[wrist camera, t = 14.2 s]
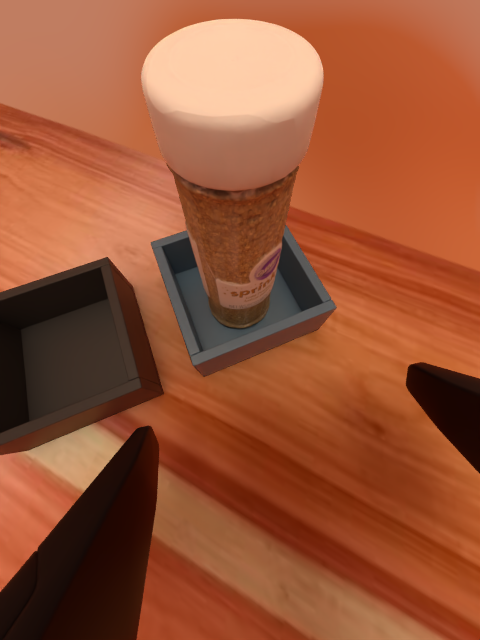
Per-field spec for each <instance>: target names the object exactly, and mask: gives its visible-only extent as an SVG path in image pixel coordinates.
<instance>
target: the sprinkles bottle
mask: <svg viewBox="0 0 480 640" xmlns="http://www.w3.org/2000/svg"><path fill="white" fill-rule="evenodd" d="M141 81H142V89H143V93H144V97H145V101H146V104H147V108H148V111H149V115H150V119H151V123H152V126H153V129H154V132H155V136H156V139H157V142H158V146H159V149H160V152H161V154H162V156H163V158H164V160H165V161H166V164H167V166H168V168H169V169H170V171H171V172H172V173H173V175H174V179H175V183H176V187H177V190H178V193H179V198H180V201H181V204H182V209H183V212H184V216H185V219H186V228H187V232H188V236H189V239H190V242H191V246H192V249H193V253H194V256H195V259H196V263H197V266H198V269H199V273H200V276H201V279H202V283H203V286H204V289H205V291H206V293H207V295H208V298H209V301H208V303H209V307H210V310H211V313H212V315H213V316H214V317H215V318H216V319H217V320H218V322H219V323H221V324H223V325H225V326H227V327H231V328H247V327H250V326H252V325H253V324H256V323H257V322H259V321H261V320H262V319H263V318H264V317H265V315H266V313H267V311H268V308H269V304H270V293H271V290H272V287H273V284H274V280H275V276H276V271H277V267H278V262H279V258H280V253H281V249H282V237H283V235H284V229H285V226H286V220H287V214H288V211H289V206H290V201H291V196H292V190H293V186H294V182H295V178H296V174H297V171H298V169H299V166H298V165H299V164H300V163H301V161H302V159H303V158H304V156H305V154H306V152H307V150H308V147H309V143H310V139H311V135H312V131H313V127H314V123H315V119H316V115H317V110H318V106H319V101H320V96H321V92H322V86H323V67H322V63H321V60H320V58H319V55H318V54H317V52H316V51H315V49H314V48H313V47H312V46H311V45H310V43H309V42H307V41H306V40H305V39H304V38H303V37H301V36H299V35H298V34H296V33H294V32H292V31H290V30H288V29H286V28H284V27H281V26H278V25H275V24H271V23H267V22H262V21H254V20H246V19H223V20H222V19H220V20H213V21H207V22H201V23H198V24H195V25H191V26H188V27H185V28H182V29H180V30H178V31H176V32H174V33H172V34H170V35H168V36H167V37H165V38H164V39H162V40H161V41H160V42H159V43H158V44H157V45H156V46H154V48H153V49H152V50H151V51H150V53H149V54H148V56H147V57H146V60H145V62H144V65H143V68H142V73H141Z"/></svg>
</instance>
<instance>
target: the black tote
mask: <svg viewBox="0 0 480 640" xmlns="http://www.w3.org/2000/svg"><path fill="white" fill-rule="evenodd" d="M162 394H164V393H163V389H162V386H161V383H160V379H159V376H158V372H157V369H156V365H155V362H154V359H153V355H152V352H151V348H150V345H149V341H148V338H147V335H146V331H145V328H144V324H143V321H142V317H141V314H140V310H139V307H138V304H137V300H136V297H135V293H134V290H133V286H132V285H131V284H130V283H129V282H128V280H127V279H126V278H125V277H124V276H123V275H122V273H121V272H120V271H119V270H118V269H117V268H116V266H115V265H114V264H113V263H112V262H111V261H110V259H109V258H108V257H106V258H103V259H100V260H97V261H94V262H91V263H88V264H85V265H82V266H79V267H76V268H73V269H70V270H67V271H64V272H61V273H58V274H55V275H52V276H49V277H46V278H43V279H40V280H37V281H34V282H31V283H28V284H25V285H21V286H18V287H15V288H12V289H9V290H6V291H3V292H0V455H4V454H10V453H16V452H22V451H27V450H30V449H32V448H35V447H37V446H39V445H42V444H44V443H47V442H49V441H52V440H54V439H56V438H59V437H61V436H64V435H66V434H68V433H71V432H73V431H76V430H78V429H80V428H83V427H85V426H88V425H90V424H92V423H95V422H97V421H100V420H102V419H104V418H107V417H109V416H112V415H114V414H116V413H119V412H121V411H124V410H126V409H128V408H131V407H133V406H136V405H138V404H141V403H143V402H145V401H148V400H150V399H153V398H155V397H157V396H160V395H162Z"/></svg>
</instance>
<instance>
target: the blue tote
mask: <svg viewBox="0 0 480 640" xmlns="http://www.w3.org/2000/svg"><path fill="white" fill-rule="evenodd" d="M151 246H152V249H153V252H154V254H155V257H156V260H157V263H158V266H159V269H160V272H161V275H162V278H163V280H164V283H165V286H166V289H167V292H168V295H169V298H170V301H171V304H172V306H173V309H174V312H175V315H176V318H177V321H178V324H179V327H180V329H181V332H182V335H183V338H184V341H185V344H186V347H187V350H188V353H189V355H190V358H191V361H192V364H193V366H194V367H195V368H196V369H197V370H198V371H199V372H200V373H201V374H202V375H203V376H204V377H205V376H207V375H209V374H212V373H214V372H217V371H219V370H221V369H224V368H226V367H229V366H231V365H233V364H236V363H238V362H241V361H243V360H245V359H248V358H250V357H253V356H255V355H257V354H260V353H262V352H265V351H267V350H270V349H272V348H274V347H277V346H279V345H282V344H284V343H286V342H289V341H291V340H294V339H296V338H298V337H301V336H303V335H306V334H308V333H310V332H313V331H315V330H318V329H319V328H320V326H321V325H322V324H323V323H324V322H325V321H326V320H327V318H328V317H329V316H330V315H331V314H332V313H333V311H334V310H335V309H336V306H335V304H334V302H333V301H332V300H331V297H330V296H329V294H328V292H327V291H326V289H325V288H324V286H323V284H322V283H321V281H320V279H319V278H318V276H317V275H316V273H315V271H314V270H313V268H312V266H311V265H310V263H309V261H308V260H307V258H306V257H305V255H304V253H303V252H302V250H301V248H300V247H299V245H298V244H297V242H296V240H295V239H294V237H293V235H292V234H291V232H290V231H289V229H288V227H287V226H285V229H284V235H283V237H282V249H281V253H280V258H279V262H278V267H277V271H276V276H275V280H274V284H273V287H272V290H271V293H270V304H269V308H268V311H267V313H266V315H265V317H264V318H263V319H262V320H261V321H259V322H257V323H256V324H253V325H252V326H250V327H247V328H231V327H227V326H225V325H223V324H221V323H219V322H218V320H217V319H216V318H215V317H214V316H213V315H212V313H211V310H210V307H209V303H208V301H209V298H208V295H207V293H206V291H205V289H204V286H203V283H202V279H201V276H200V273H199V269H198V266H197V263H196V259H195V256H194V253H193V249H192V246H191V242H190V239H189V236H188V232H187V230H186V231H183V232H180V233H177V234H174V235H171V236H168V237H165V238H162V239H159V240H156V241H153V242H151Z"/></svg>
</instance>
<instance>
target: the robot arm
mask: <svg viewBox="0 0 480 640" xmlns="http://www.w3.org/2000/svg"><path fill="white" fill-rule="evenodd" d="M406 386H407V389H408V391H409V392H410V393H411V395H412V396H413V397H414V398H415V400H416V401H417V402H418V404H419V405H420V406H421V407H422V409H423V410H424V411H425V413H426V414H427V415H428V416H429V418H430V419H431V420H432V421H433V423H434V424H435V425H436V426H437V428H438V429H439V430H440V431H441V432H442V433H443V435H444V436H445V437H446V438H447V439H448V440H449V441H450V442H451V443H452V444H453V445H454V446H455V447H456V449H457V450H458V451H459V452H460V453H461V454H462V455H463V456H464V457H465V458H466V459H467V460H468V462H469V463H470V464H471V465H472V466H473V467H474V468H475V469H476V470H477V471H478V472H479V473H480V379H479V378H475V377H472V376H468V375H465V374H461V373H458V372H455V371H451V370H448V369H444V368H441V367H437V366H434V365H430V364H427V363H423V362H420V363H415V364H411V365H410V366H409V367H408V371H407V379H406ZM158 467H159V444H158V441H157V439H156V436H155V434H154V431H153V429H152V427H151V426H144V427H140V428H137V429H136V430H135V431H134V433H133V434H132V435H131V436H130V437H129V439H128V440H127V441H126V442H125V443H124V445H123V446H122V447H121V448H120V449H119V451H118V452H117V453H116V454H115V455H114V457H113V458H112V459H111V460H110V461H109V463H108V464H107V465H106V466H105V467H104V469H103V470H102V471H101V472H100V473H99V475H98V476H97V477H96V478H95V480H94V481H93V482H92V483H91V484H90V486H89V487H88V488H87V489H86V490H85V492H84V493H83V494H82V495H81V496H80V498H79V499H78V500H77V501H76V502H75V504H74V505H73V506H72V507H71V508H70V510H69V511H68V512H67V513H66V514H65V516H64V517H63V518H62V519H61V520H60V522H59V523H58V524H57V525H56V526H55V528H54V529H53V530H52V531H51V532H50V534H49V535H48V536H47V537H46V539H45V540H44V541H43V542H42V543H41V545H40V546H39V547H38V551H35V552H34V553H33V554H32V555H31V556H30V558H29V559H28V560H27V561H26V562H25V564H24V565H23V566H22V567H21V568H20V570H19V571H18V572H17V573H16V574H15V576H14V577H13V578H12V579H11V580H10V581H9V583H8V584H7V585H6V586H5V587H4V588H3V590H2V591H1V592H0V640H136V639H137V632H138V626H139V619H140V612H141V605H142V598H143V592H144V585H145V578H146V571H147V565H148V558H149V551H150V544H151V538H152V531H153V524H154V517H155V511H156V503H157V489H158Z"/></svg>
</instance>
